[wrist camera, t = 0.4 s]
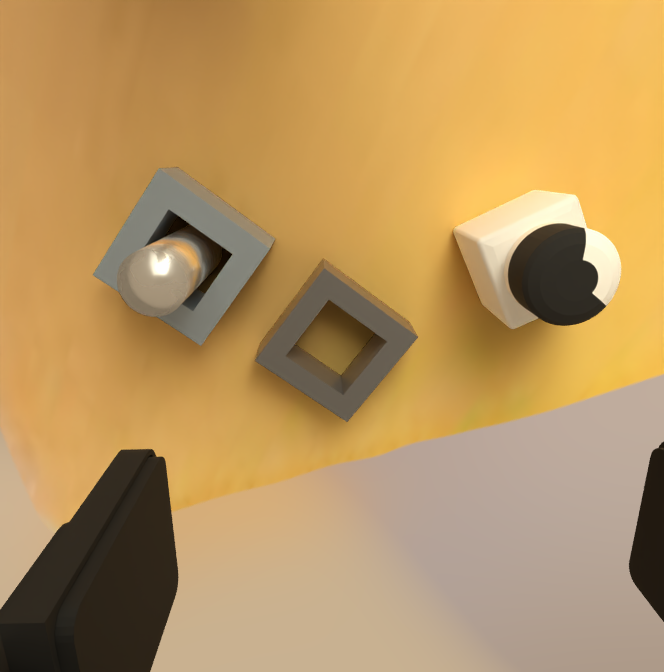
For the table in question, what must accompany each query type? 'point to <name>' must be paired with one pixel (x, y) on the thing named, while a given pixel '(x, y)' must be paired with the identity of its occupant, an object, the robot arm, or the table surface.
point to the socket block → (209, 218)
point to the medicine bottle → (539, 261)
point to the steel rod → (167, 271)
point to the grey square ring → (311, 373)
